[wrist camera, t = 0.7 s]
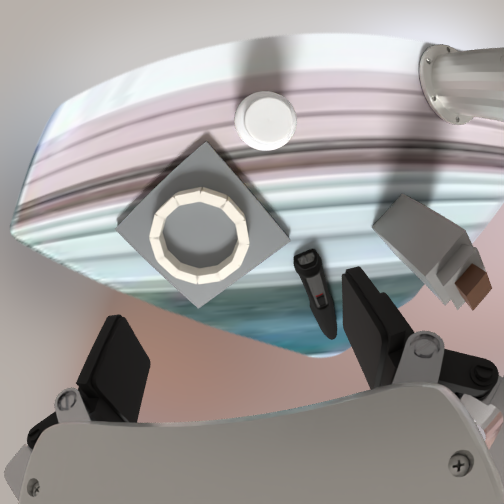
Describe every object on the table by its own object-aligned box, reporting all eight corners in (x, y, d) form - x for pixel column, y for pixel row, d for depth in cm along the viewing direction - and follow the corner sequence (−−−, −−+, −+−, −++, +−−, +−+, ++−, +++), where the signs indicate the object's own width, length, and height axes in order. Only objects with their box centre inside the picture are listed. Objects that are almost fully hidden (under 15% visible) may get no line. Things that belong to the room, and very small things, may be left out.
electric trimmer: (317, 331, 45) (322, 344, 42) (290, 256, 38) (295, 268, 35) (338, 323, 44) (344, 336, 42) (315, 246, 38) (322, 257, 35)
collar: (206, 140, 30) (204, 142, 28) (289, 237, 36) (293, 247, 34) (117, 226, 34) (109, 235, 31) (199, 304, 40) (197, 317, 37)
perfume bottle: (423, 223, 37) (503, 284, 21) (395, 254, 39) (465, 328, 23) (402, 193, 35) (493, 248, 18) (371, 227, 37) (449, 301, 20)
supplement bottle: (285, 102, 29) (308, 94, 20) (278, 147, 31) (298, 158, 22) (237, 95, 28) (239, 83, 19) (230, 141, 31) (230, 149, 21)
